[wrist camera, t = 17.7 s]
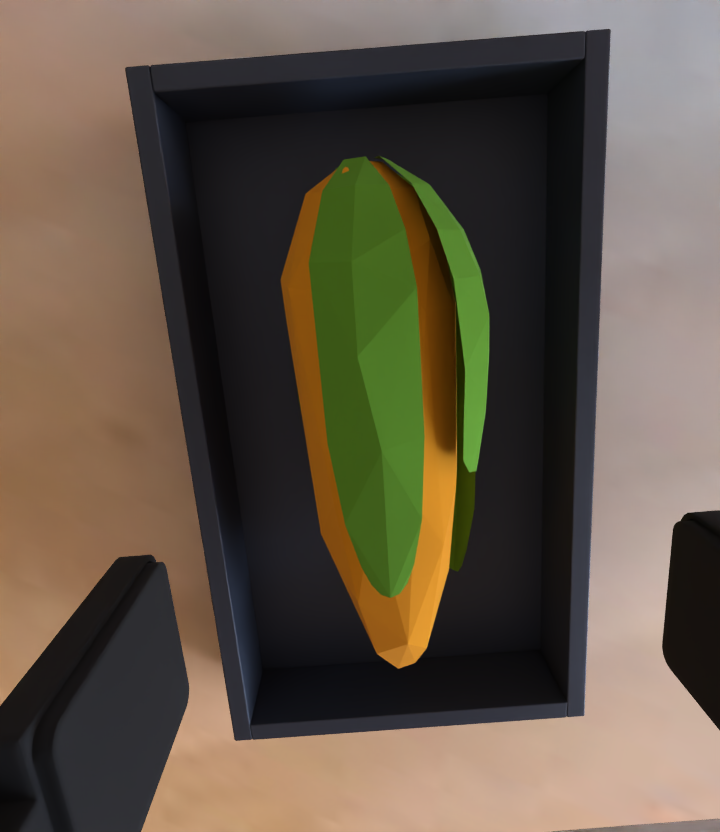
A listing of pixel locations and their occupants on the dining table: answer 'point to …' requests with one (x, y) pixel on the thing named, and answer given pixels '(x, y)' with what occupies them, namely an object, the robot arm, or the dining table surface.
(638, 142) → the dining table surface
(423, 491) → the corn
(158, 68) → the black tray
